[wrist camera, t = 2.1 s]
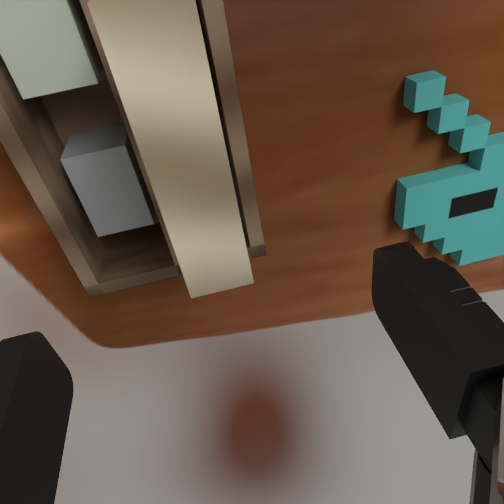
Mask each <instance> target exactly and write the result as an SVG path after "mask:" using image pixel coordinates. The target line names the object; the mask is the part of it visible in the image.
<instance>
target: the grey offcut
mask: <svg viewBox="0 0 504 504" xmlns="http://www.w3.org/2000/svg"><path fill="white" fill-rule="evenodd" d="M60 160H61V162H62V165H63V167H64V169H65V171H66V173H67V175H68V177H69V179H70V181H71V183H72V185H73V187H74V189H75V191H76V193H77V195H78V197H79V199H80V201H81V203H82V205H83V207H84V209H85V211H86V213H87V215H88V218H89V220H90V222H91V224H92V226H93V228H94V230H95V232H96V234H97V236H98V237H100V236H105V235H109V234H113V233H117V232H122V231H126V230H130V229H134V228H139V227H143V226H147V225H152V224H154V205H153V203H152V200H151V197H150V194H149V191H148V189H147V186H146V183H145V180H144V178H143V175H142V172H141V169H140V167H139V164H138V161H137V158H136V155H135V153H134V150H133V147H132V144H131V142H130V139H129V136H128V133H127V131H126V128H125V125H124V123H121V124H116V125H112V126H107V127H103V128H98V129H94V130H89V131H84V132H80V133H75V134H71V135H70V137H69V139H68V142H67V144H66V147H65V149H64V151H63V154H62V156H61V159H60Z"/></svg>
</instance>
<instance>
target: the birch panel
mask: <svg viewBox="0 0 504 504" xmlns="http://www.w3.org/2000/svg"><path fill="white" fill-rule="evenodd" d="M87 4H88V7H89V10H90V13H91V15H92V18H93V21H94V24H95V27H96V30H97V32H98V35H99V38H100V41H101V44H102V47H103V49H104V52H105V55H106V58H107V61H108V64H109V67H110V69H111V72H112V75H113V78H114V81H115V84H116V86H117V89H118V92H119V95H120V98H121V101H122V103H123V106H124V109H125V112H126V115H127V118H128V120H129V123H130V126H131V129H132V132H133V135H134V137H135V140H136V143H137V146H138V149H139V152H140V155H141V157H142V160H143V163H144V166H145V169H146V172H147V174H148V177H149V180H150V183H151V186H152V189H153V191H154V194H155V197H156V200H157V203H158V206H159V208H160V211H161V214H162V217H163V220H164V223H165V226H166V228H167V231H168V234H169V237H170V240H171V243H172V245H173V248H174V251H175V254H176V257H177V260H178V262H179V265H180V268H181V271H182V274H183V277H184V279H185V282H186V285H187V288H188V291H189V294H190V297H191V298H195V297H199V296H203V295H207V294H211V293H215V292H220V291H224V290H228V289H232V288H236V287H240V286H244V285H248V284H252V283H254V281H253V276H252V271H251V266H250V262H249V257H248V252H247V247H246V242H245V237H244V233H243V228H242V223H241V218H240V213H239V208H238V204H237V199H236V194H235V189H234V184H233V179H232V175H231V170H230V165H229V160H228V155H227V150H226V146H225V141H224V136H223V131H222V126H221V121H220V117H219V112H218V107H217V102H216V97H215V92H214V88H213V83H212V78H211V73H210V68H209V63H208V59H207V54H206V49H205V44H204V39H203V35H202V30H201V25H200V20H199V15H198V10H197V6H196V1H195V0H89V1H88V3H87Z"/></svg>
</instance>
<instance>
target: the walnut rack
mask: <svg viewBox="0 0 504 504" xmlns="http://www.w3.org/2000/svg"><path fill="white" fill-rule="evenodd" d="M88 1H89V0H80V3H81V6H82V9H83V11H84V14H85V17H86V20H87V23H88V25H89V28H90V31H91V34H92V36H93V39H94V42H95V45H96V47H97V50H98V53H99V56H100V59H101V61H102V64H103V67H104V69H103V71H102V74H101V77H100V79H99V82H98V84H93V85H89V86H84V87H79V88H75V89H70V90H65V91H61V92H56V93H51V94H47V95H42V96H38V97H33V98H28V99H24V100H23V98H22V96H21V94H20V92H19V90H18V88H17V86H16V84H15V82H14V80H13V78H12V76H11V74H10V72H9V70H8V68H7V66H6V64H5V62H4V60H3V58H2V56H1V54H0V142H1V143H2V145H3V147H4V149H5V150H6V152H7V154H8V156H9V157H10V159H11V161H12V163H13V164H14V166H15V168H16V170H17V171H18V173H19V175H20V176H21V178H22V180H23V182H24V183H25V185H26V187H27V189H28V190H29V192H30V194H31V196H32V197H33V199H34V201H35V203H36V204H37V206H38V208H39V210H40V211H41V213H42V215H43V217H44V218H45V220H46V222H47V224H48V225H49V227H50V229H51V231H52V232H53V234H54V236H55V238H56V239H57V241H58V243H59V244H60V246H61V248H62V250H63V251H64V253H65V255H66V257H67V258H68V260H69V262H70V264H71V265H72V267H73V269H74V271H75V272H76V274H77V276H78V278H79V279H80V281H81V283H82V285H83V286H84V288H85V290H86V292H87V293H88V295H89V297H93V296H97V295H101V294H105V293H110V292H114V291H118V290H122V289H126V288H130V287H134V286H139V285H143V284H147V283H151V282H155V281H159V280H163V279H168V278H172V277H176V276H180V275H183V274H182V271H181V268H180V265H179V262H178V260H177V257H176V254H175V251H174V248H173V245H172V243H171V240H170V237H169V234H168V231H167V228H166V226H165V223H164V220H163V217H162V214H161V211H160V208H159V206H158V203H157V200H156V197H155V194H154V191H153V189H152V186H151V183H150V180H149V177H148V174H147V172H146V169H145V166H144V163H143V160H142V157H141V155H140V152H139V149H138V146H137V143H136V140H135V137H134V135H133V132H132V129H131V126H130V123H129V120H128V118H127V115H126V112H125V109H124V106H123V103H122V101H121V98H120V95H119V92H118V89H117V86H116V84H115V81H114V78H113V75H112V72H111V69H110V67H109V64H108V61H107V58H106V55H105V52H104V49H103V47H102V44H101V41H100V38H99V35H98V32H97V30H96V27H95V24H94V21H93V18H92V15H91V13H90V10H89V7H88V4H87V3H88ZM195 1H196V6H197V10H198V15H199V20H200V25H201V30H202V35H203V39H204V44H205V49H206V54H207V59H208V63H209V68H210V73H211V78H212V83H213V88H214V92H215V97H216V102H217V107H218V112H219V117H220V121H221V126H222V131H223V136H224V141H225V146H226V150H227V155H228V160H229V165H230V170H231V175H232V179H233V184H234V189H235V194H236V199H237V204H238V208H239V213H240V218H241V223H242V228H243V233H244V237H245V242H246V247H247V252H248V257H249V259H250V258H255V257H259V256H263V255H266V251H265V245H264V239H263V233H262V227H261V222H260V216H259V210H258V204H257V198H256V192H255V186H254V181H253V175H252V169H251V163H250V157H249V151H248V146H247V140H246V134H245V128H244V122H243V116H242V110H241V105H240V99H239V93H238V87H237V81H236V75H235V69H234V64H233V58H232V52H231V46H230V40H229V34H228V28H227V23H226V17H225V11H224V5H223V0H195ZM121 123H124V125H125V128H126V131H127V133H128V136H129V139H130V142H131V144H132V147H133V150H134V153H135V155H136V158H137V161H138V164H139V167H140V169H141V172H142V175H143V178H144V180H145V183H146V186H147V189H148V191H149V194H150V197H151V200H152V203H153V205H154V224H152V225H147V226H143V227H139V228H134V229H130V230H126V231H122V232H117V233H113V234H109V235H105V236H100V237H98V236H97V234H96V232H95V230H94V228H93V226H92V224H91V222H90V220H89V218H88V215H87V213H86V211H85V209H84V207H83V205H82V203H81V201H80V199H79V197H78V195H77V193H76V191H75V189H74V187H73V185H72V183H71V181H70V179H69V177H68V175H67V173H66V171H65V169H64V167H63V165H62V162H61V160H60V159H61V156H62V154H63V151H64V149H65V147H66V144H67V142H68V139H69V137H70V135H71V134H75V133H80V132H84V131H89V130H94V129H98V128H103V127H107V126H112V125H116V124H121Z"/></svg>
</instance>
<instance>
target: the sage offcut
mask: <svg viewBox="0 0 504 504" xmlns="http://www.w3.org/2000/svg"><path fill="white" fill-rule="evenodd" d="M0 54H1V56H2V58H3V60H4V62H5V64H6V66H7V68H8V70H9V72H10V74H11V76H12V78H13V80H14V82H15V84H16V86H17V88H18V90H19V92H20V94H21V96H22V98H23V100H24V99H28V98H33V97H38V96H42V95H47V94H51V93H56V92H61V91H65V90H70V89H75V88H79V87H84V86H89V85H93V84H98V82H99V79H100V77H101V74H102V71H103V69H104V67H103V64H102V61H101V59H100V56H99V53H98V50H97V47H96V45H95V42H94V39H93V36H92V34H91V31H90V28H89V25H88V23H87V20H86V17H85V14H84V11H83V9H82V6H81V3H80V0H0Z"/></svg>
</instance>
